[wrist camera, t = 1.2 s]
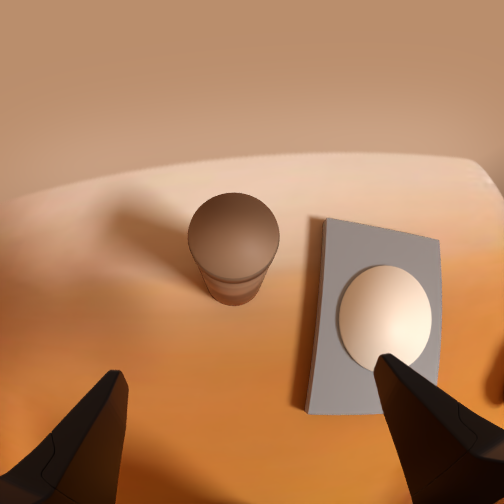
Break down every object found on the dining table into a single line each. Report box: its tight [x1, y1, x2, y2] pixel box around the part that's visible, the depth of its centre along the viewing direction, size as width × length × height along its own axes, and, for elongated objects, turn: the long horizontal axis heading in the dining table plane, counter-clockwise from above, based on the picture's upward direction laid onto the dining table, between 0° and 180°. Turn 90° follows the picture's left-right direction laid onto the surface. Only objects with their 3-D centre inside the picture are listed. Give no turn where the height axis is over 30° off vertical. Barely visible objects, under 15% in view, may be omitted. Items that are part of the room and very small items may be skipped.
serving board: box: [305, 218, 442, 415], centre depth 23 cm, size 16×12×2 cm
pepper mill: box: [188, 193, 280, 306], centre depth 19 cm, size 4×4×10 cm
